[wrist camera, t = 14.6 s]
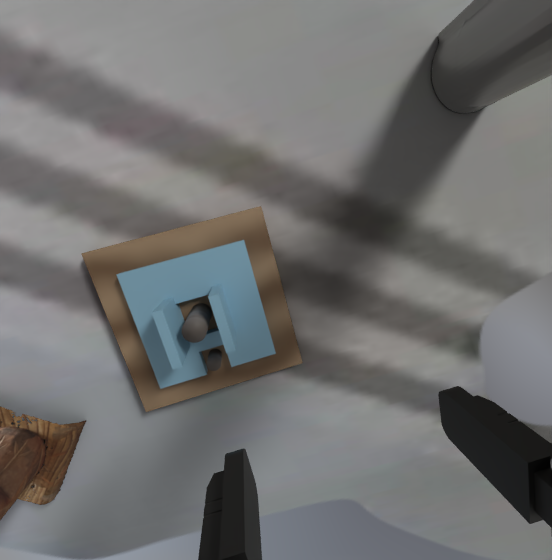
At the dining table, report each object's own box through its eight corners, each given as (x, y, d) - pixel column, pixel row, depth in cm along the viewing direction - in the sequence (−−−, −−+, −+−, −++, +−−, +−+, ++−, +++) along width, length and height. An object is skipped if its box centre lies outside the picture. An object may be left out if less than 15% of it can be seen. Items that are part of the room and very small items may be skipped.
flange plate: (120, 272, 32) (94, 283, 26) (243, 239, 33) (245, 242, 27) (163, 383, 35) (147, 416, 29) (274, 349, 36) (282, 374, 30)
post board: (88, 252, 33) (45, 259, 25) (259, 207, 34) (266, 201, 27) (149, 404, 37) (128, 449, 29) (299, 357, 38) (315, 388, 31)
